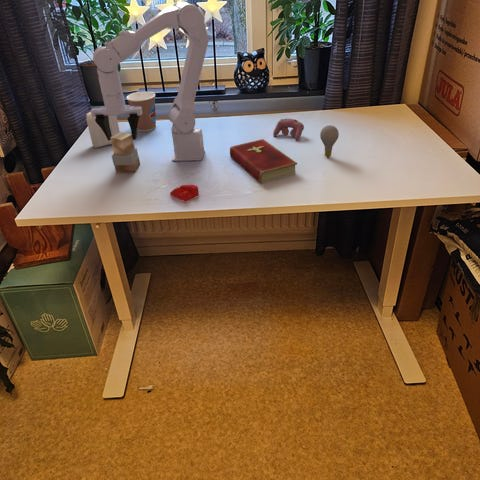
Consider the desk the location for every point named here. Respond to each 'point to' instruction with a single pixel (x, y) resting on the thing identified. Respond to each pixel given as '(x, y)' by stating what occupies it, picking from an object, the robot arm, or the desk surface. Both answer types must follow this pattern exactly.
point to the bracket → (185, 192)
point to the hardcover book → (262, 160)
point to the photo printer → (97, 133)
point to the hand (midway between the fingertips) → (122, 138)
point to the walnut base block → (128, 167)
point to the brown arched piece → (290, 123)
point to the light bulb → (329, 138)
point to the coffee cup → (144, 109)
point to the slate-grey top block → (125, 158)
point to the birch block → (122, 143)
